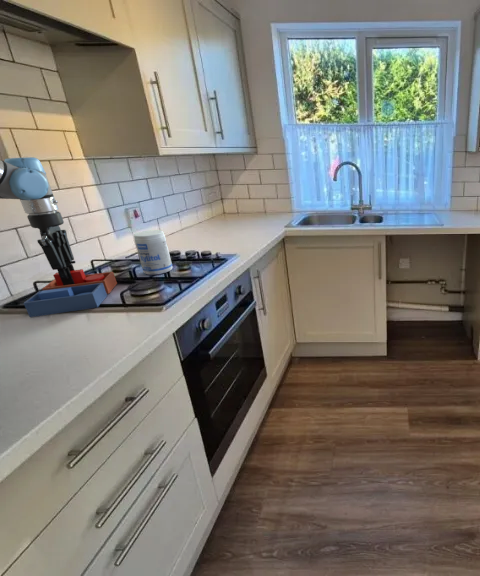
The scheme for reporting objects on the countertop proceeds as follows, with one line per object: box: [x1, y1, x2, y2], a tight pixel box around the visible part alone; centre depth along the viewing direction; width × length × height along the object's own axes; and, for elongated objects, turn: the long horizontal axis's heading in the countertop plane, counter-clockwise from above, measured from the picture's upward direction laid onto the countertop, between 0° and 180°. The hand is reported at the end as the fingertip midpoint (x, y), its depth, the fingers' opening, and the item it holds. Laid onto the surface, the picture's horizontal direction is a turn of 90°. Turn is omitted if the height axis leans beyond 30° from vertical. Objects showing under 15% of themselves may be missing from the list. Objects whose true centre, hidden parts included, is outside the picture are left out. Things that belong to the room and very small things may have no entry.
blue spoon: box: [39, 287, 92, 300], centre depth 108 cm, size 12×5×5 cm, turn 110°
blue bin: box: [23, 283, 108, 318], centre depth 108 cm, size 16×9×4 cm, turn 111°
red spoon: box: [53, 268, 105, 286], centre depth 116 cm, size 12×5×5 cm, turn 110°
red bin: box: [41, 271, 118, 295], centre depth 117 cm, size 16×9×4 cm, turn 110°
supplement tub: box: [133, 229, 173, 276], centre depth 133 cm, size 10×10×15 cm
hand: (72, 285), depth 116 cm, fingers closed on red spoon, 2 cm apart
